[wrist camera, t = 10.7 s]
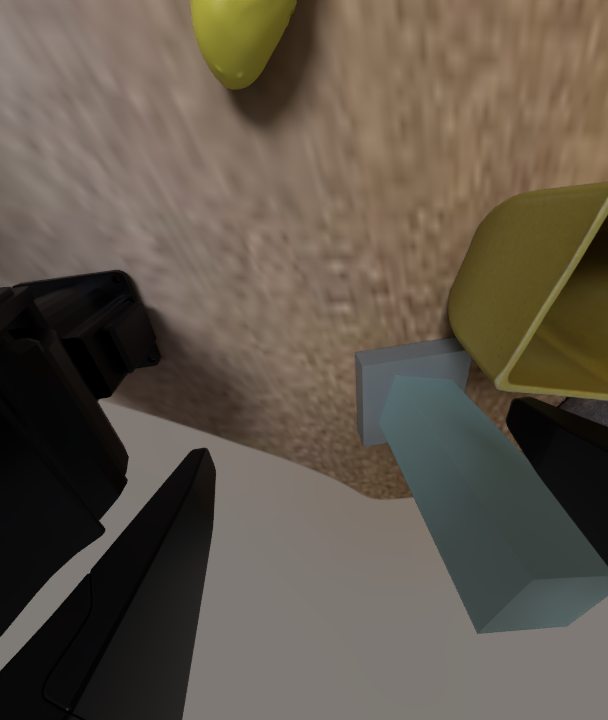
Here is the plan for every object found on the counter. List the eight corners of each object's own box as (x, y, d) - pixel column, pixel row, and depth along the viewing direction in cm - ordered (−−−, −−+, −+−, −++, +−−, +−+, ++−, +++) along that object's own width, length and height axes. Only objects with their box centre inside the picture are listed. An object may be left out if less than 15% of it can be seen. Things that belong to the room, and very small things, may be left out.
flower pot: (515, 332, 23) (639, 406, 16) (413, 318, 22) (493, 392, 14) (587, 208, 19) (806, 224, 11) (466, 179, 17) (624, 174, 10)
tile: (357, 430, 27) (363, 447, 25) (355, 352, 23) (362, 366, 21) (444, 416, 27) (456, 431, 25) (458, 336, 23) (473, 349, 21)
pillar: (378, 422, 24) (477, 633, 13) (395, 375, 22) (532, 579, 10) (430, 425, 24) (567, 626, 13) (451, 379, 22) (636, 574, 11)
